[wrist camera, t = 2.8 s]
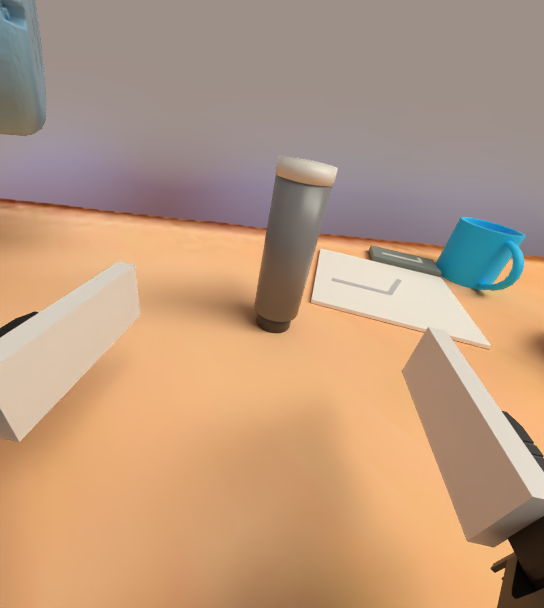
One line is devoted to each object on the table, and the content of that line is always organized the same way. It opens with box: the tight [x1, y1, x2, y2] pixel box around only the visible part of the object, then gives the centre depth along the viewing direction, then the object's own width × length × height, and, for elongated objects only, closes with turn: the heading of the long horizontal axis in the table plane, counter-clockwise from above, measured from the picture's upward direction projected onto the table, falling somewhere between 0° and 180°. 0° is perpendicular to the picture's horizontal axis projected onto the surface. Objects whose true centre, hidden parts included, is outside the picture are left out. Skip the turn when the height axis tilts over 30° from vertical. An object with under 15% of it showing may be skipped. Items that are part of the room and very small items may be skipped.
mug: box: [436, 217, 526, 291], centre depth 40 cm, size 12×8×8 cm
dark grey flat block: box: [369, 246, 442, 277], centre depth 43 cm, size 10×5×1 cm, turn 78°
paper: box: [311, 249, 491, 349], centre depth 34 cm, size 18×16×1 cm
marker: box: [254, 156, 338, 333], centre depth 21 cm, size 4×4×13 cm
